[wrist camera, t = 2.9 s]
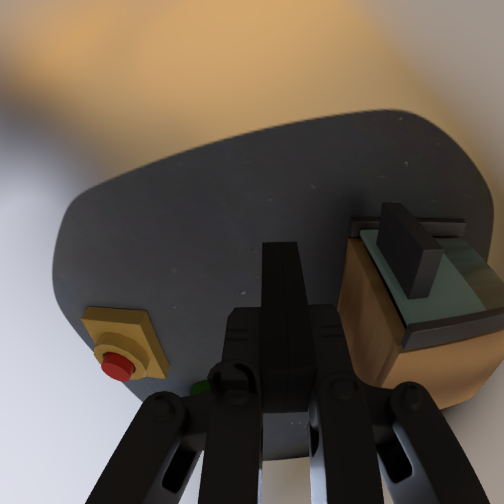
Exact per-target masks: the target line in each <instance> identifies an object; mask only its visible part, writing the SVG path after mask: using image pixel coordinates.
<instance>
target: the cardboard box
mask: <svg viewBox="0 0 504 504" xmlns="http://www.w3.org/2000/svg"><path fill="white" fill-rule="evenodd" d="M416 219H417V220H418V221H419V223H420V224H421V225H422V226H423V227H424V228H425V229H426V230H427V231H428V232H429V233H430V234H431V235H432V236H464V234H465V230H466V226H467V223H466V222H465V221H464V220H460V219H432V218H416ZM379 223H380V217H351V221H350V230H349V233H350V235H351V237H361V236H360V232H361V230H379ZM434 238H435V240H436V241H437V242H438V243H439V244H440V245H441V246H442V247H443V249H444V252H443V253H444V255H445V256H446V257H447V258H448V259H449V260H450V262H451V263H452V264H453V265H454V267H455V268H456V269H457V270H458V272H459V273H460V274H461V275H462V277H463V278H464V279H465V281H466V282H467V283H468V284H469V286H470V287H471V288H472V290H473V291H474V293H475V294H476V295H477V297H478V298H479V299H480V301H481V302H482V304H483V305H484V307H485V308H486V311H481V312H476V313H471V314H466V315H461V316H455V317H449V318H443V319H437V320H431V321H424V322H417V323H410V324H408V326H407V325H406V322H405V320H404V318H403V316H402V314H401V312H400V310H399V307H398V305H397V303H396V301H395V299H394V297H393V295H392V293H391V291H390V289H389V287H388V285H387V283H386V281H385V279H384V278H383V276H382V274H381V272H380V270H379V268H378V266H377V264H376V263H375V261H374V259H373V257H372V255H371V253H370V252H369V250H368V248H367V246H366V245H365V243H364V241H363V239H362V238H348V245H347V253H346V260H345V267H344V273H343V279H342V285H341V291H340V297H339V302H338V308H337V311H338V312H339V314H340V318H341V321H342V327H343V329H344V333H345V337H346V341H347V345H348V349H349V353H350V357H351V361H352V365H353V369H354V371H355V374H356V375H357V376H358V378H359V379H360V380H362V381H363V382H364V383H366V384H368V385H371V386H375V387H381V388H388V389H394V388H395V387H396V386H397V385H399V384H400V383H402V382H407V381H412V382H417V383H419V384H421V385H423V386H424V387H425V388H426V389H427V391H428V392H429V393H430V395H431V397H432V398H433V400H434V401H435V403H436V405H437V406H438V408H439V410H440V409H443V408H446V407H449V406H452V405H455V404H458V403H460V402H463V401H466V400H468V399H471V397H473V395H474V394H475V393H476V392H477V391H478V390H479V389H480V388H481V386H482V385H483V384H484V383H485V382H486V381H487V379H488V378H489V377H490V376H491V375H492V373H493V372H494V371H495V370H496V368H497V367H498V366H499V364H500V363H501V362H502V360H503V359H504V283H503V281H502V280H501V279H500V278H499V277H498V275H497V274H496V273H495V272H494V271H493V270H492V269H491V267H490V266H489V265H488V264H487V263H486V262H485V261H484V260H483V258H482V257H481V256H480V255H479V254H478V253H477V252H476V251H475V250H474V249H473V248H472V247H471V246H470V245H469V244H468V243H467V242H466V241H465V240H464V239H463V238H459V237H434Z"/></svg>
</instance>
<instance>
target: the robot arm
mask: <svg viewBox="0 0 504 504" xmlns="http://www.w3.org/2000/svg"><path fill="white" fill-rule="evenodd" d="M207 379H208V382H209V385H210V389H208V390H207V391H205V392H203V393H200V394H196V395H191V396H186V397H181V398H180V397H179V396H178V395H176V394H174V393H172V392H166V391H162V392H156V393H154V394H152V395H150V396H148V397H147V399H146V400H145V401H144V402H143V403H142V405H141V407H140V409H139V410H138V412H137V414H136V415H135V417H134V419H133V421H132V422H131V424H130V426H129V427H128V429H127V431H126V432H125V434H124V436H123V437H122V439H121V441H120V443H119V445H118V446H117V448H116V450H115V451H114V453H113V455H112V456H111V458H110V460H109V462H108V463H107V465H106V467H105V469H104V470H103V472H102V474H101V476H100V478H99V479H98V481H97V483H96V485H95V486H94V488H93V490H92V492H91V494H90V495H89V497H88V499H87V501H86V503H85V504H178V503H179V501H180V499H181V497H182V495H183V493H184V490H185V488H186V486H187V484H188V482H189V479H190V477H191V475H192V473H193V470H194V468H195V466H196V464H197V461H198V459H199V457H200V455H201V452H202V451H203V450H204V457H203V465H202V473H201V481H200V489H199V497H198V504H261V494H262V493H261V492H262V460H263V413H292V412H307V411H308V407H309V422H308V426H307V429H306V435H308V437H309V454H310V474H311V503H312V504H384V497H383V489H382V483H381V475H382V477H383V479H384V481H385V484H386V486H387V488H388V491H389V493H390V495H391V498H392V500H393V502H394V504H490V502H489V500H488V498H487V496H486V494H485V491H484V489H483V487H482V485H481V483H480V481H479V479H478V477H477V475H476V473H475V471H474V469H473V467H472V466H471V464H470V462H469V460H468V458H467V456H466V454H465V453H464V451H463V449H462V447H461V446H460V444H459V442H458V440H457V438H456V437H455V435H454V433H453V431H452V430H451V428H450V426H449V425H448V423H447V421H446V419H445V418H444V416H443V414H442V413H441V411H440V410H439V408H438V406H437V405H436V403H435V401H434V400H433V398H432V397H431V395H430V393H429V392H428V391H427V389H426V388H425V387H424V386H423V385H421V384H419V383H417V382H412V381H407V382H402V383H400V384H399V385H397V386H396V387H395V388H394V389H388V388H381V387H375V386H371V385H368V384H366V383H364V382H363V381H362V380H360V379H359V378H358V376H357V375H356V374H355V371H354V369H353V365H352V361H351V357H350V353H349V349H348V345H347V341H346V337H345V333H344V329H343V327H342V321H341V318H340V314H339V312H338V311H337V310H336V309H335V308H334V307H333V305H332V304H320V305H308V301H307V296H306V290H305V284H304V278H303V273H302V267H301V262H300V257H299V252H298V246H297V242H266V243H262V297H261V307H240V308H234V310H233V311H232V312H231V314H230V315H229V316H228V320H227V326H226V333H225V340H224V347H223V354H222V361H221V362H220V363H217V364H216V365H215V366H214V367H213V368H212V369H211V370H210V372H209V374H208V377H207ZM380 473H381V475H380Z"/></svg>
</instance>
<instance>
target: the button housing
mask: <svg viewBox="0 0 504 504" xmlns="http://www.w3.org/2000/svg"><path fill="white" fill-rule="evenodd" d="M81 320H82V322H83V324H84V326H85V327H86V329H87V331H88V333H89V334H90V336H91V338H92V339H93V341H94V343H95V344H96V345H95V347H94V356H95V357H96V359H97V360H98V362H99V363H100V364H102V362H103V360H104V357H105V355H106V353H107V352H115V353H118V354H120V355H122V356H124V357H126V358H127V359H128V360H130V361H131V362H132V363H133V364H134V369H133V372H132V375H131V377H130V379H132V380H137V379H140V378H143V377H144V376H146V377H153V378H162V379H166V377H167V373H168V370H169V363H168V361H167V359H166V357H165V355H164V352H163V350H162V348H161V345H160V343H159V341H158V338H157V336H156V334H155V331H154V329H153V326H152V324H151V322H150V319H149V316H148V314H147V311H146V310H128V309H114V308H101V307H88V308H87V310H86V311H85V313H84V314H83V316H82V318H81Z"/></svg>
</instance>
